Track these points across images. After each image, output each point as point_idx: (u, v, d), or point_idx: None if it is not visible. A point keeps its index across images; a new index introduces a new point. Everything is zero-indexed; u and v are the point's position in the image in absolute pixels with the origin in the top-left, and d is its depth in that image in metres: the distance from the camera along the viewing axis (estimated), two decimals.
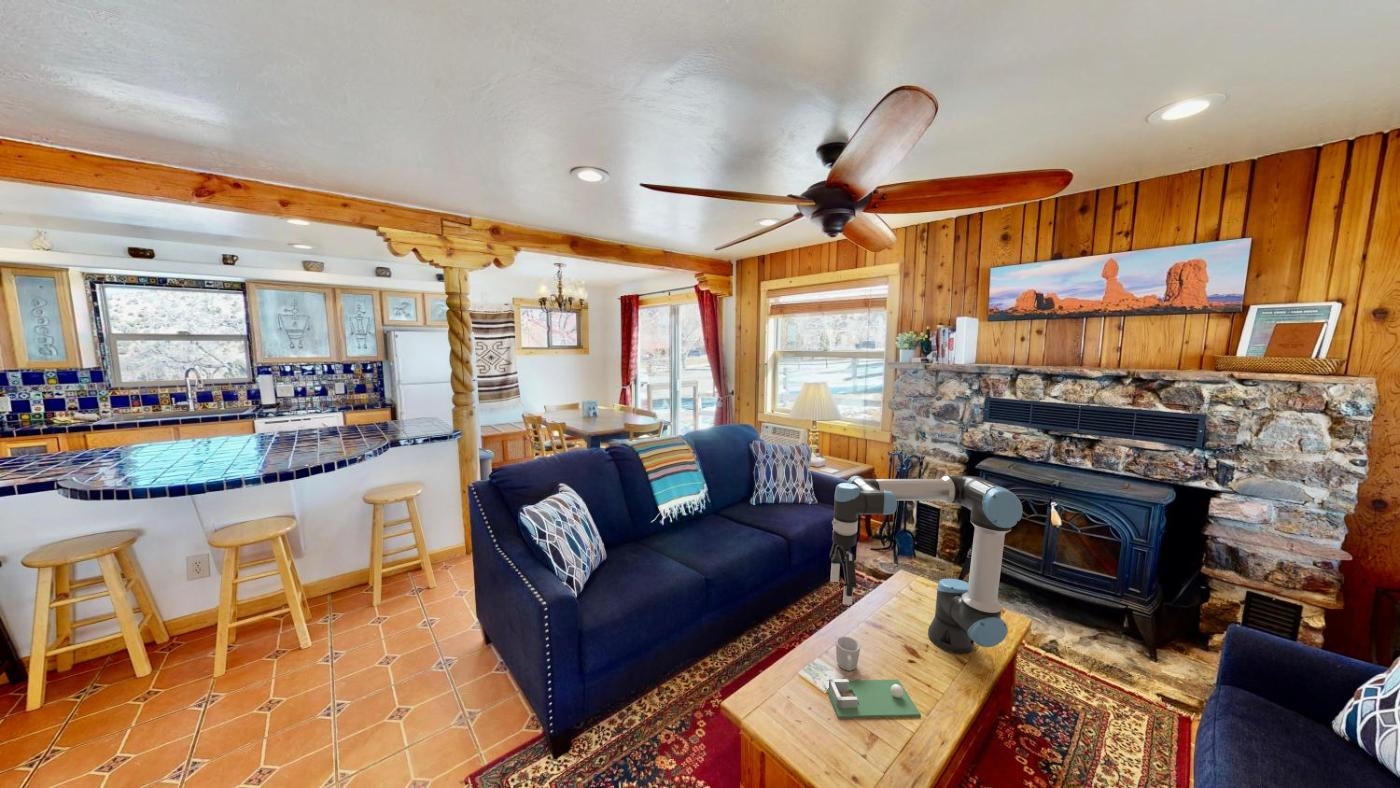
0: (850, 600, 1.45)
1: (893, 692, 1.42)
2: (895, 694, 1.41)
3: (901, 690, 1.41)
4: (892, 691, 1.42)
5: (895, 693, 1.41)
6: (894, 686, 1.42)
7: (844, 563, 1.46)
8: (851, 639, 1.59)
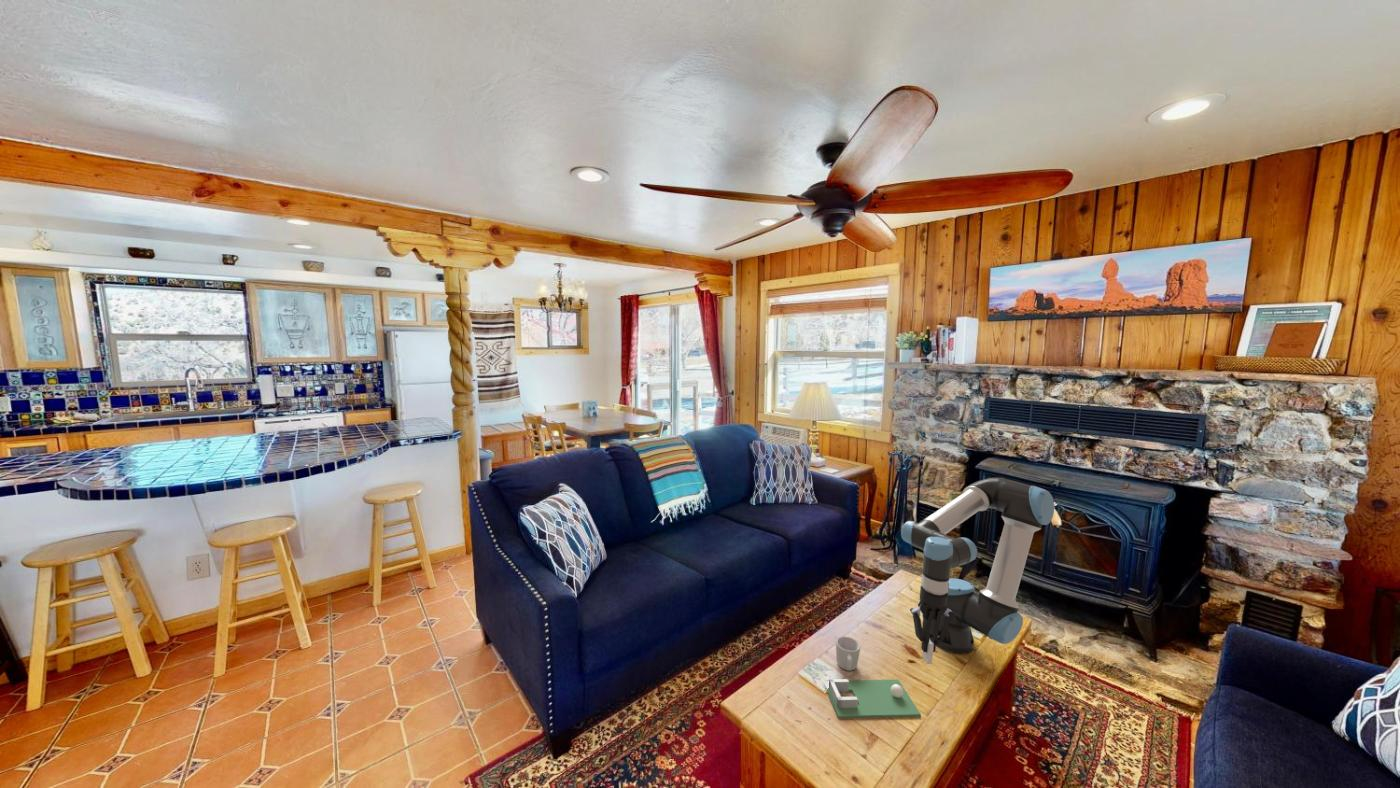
0: (926, 658, 1.41)
1: (893, 692, 1.42)
2: (895, 694, 1.41)
3: (901, 690, 1.41)
4: (892, 691, 1.42)
5: (895, 693, 1.41)
6: (894, 686, 1.42)
7: (923, 618, 1.41)
8: (851, 639, 1.59)
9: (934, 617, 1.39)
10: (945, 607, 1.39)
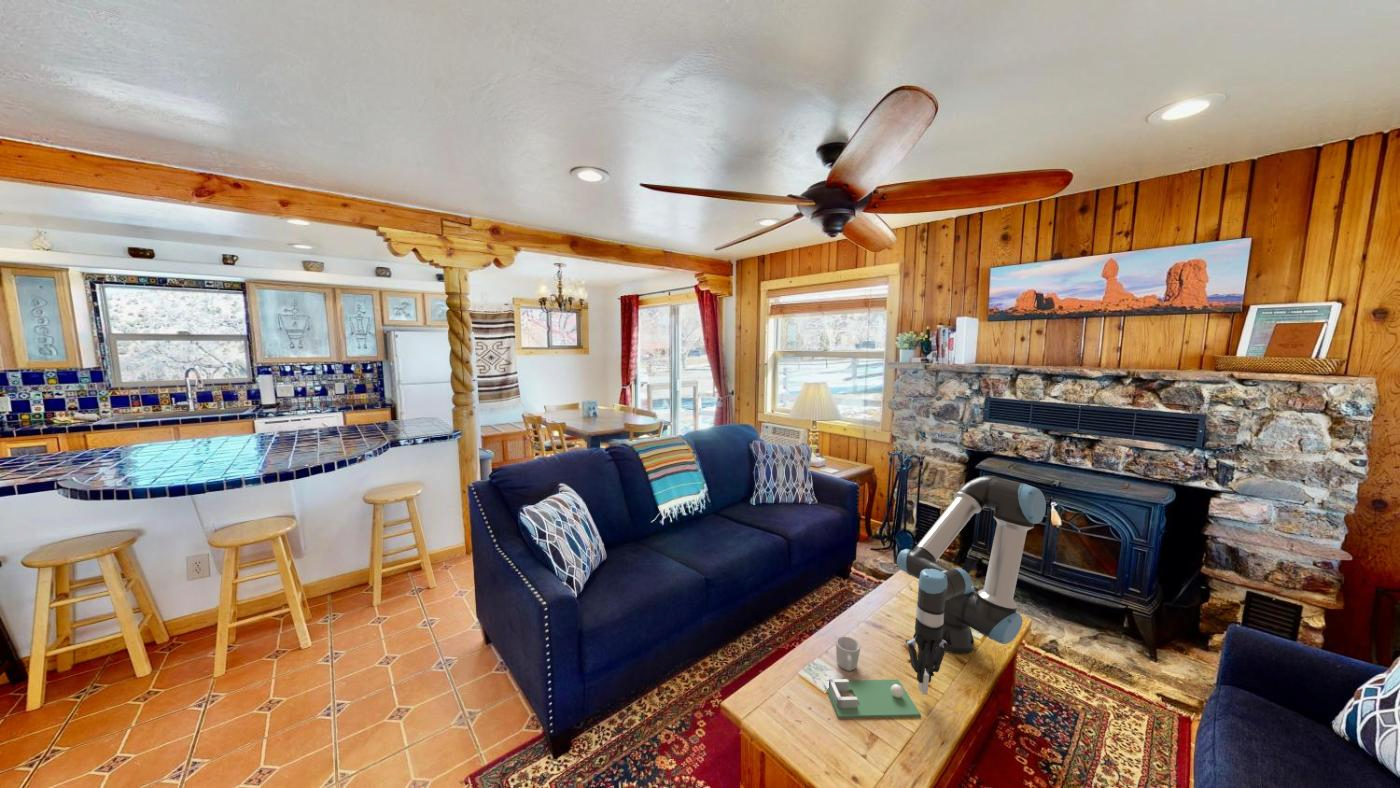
0: (922, 688, 1.42)
1: (893, 692, 1.42)
2: (895, 694, 1.41)
3: (901, 690, 1.41)
4: (892, 691, 1.42)
5: (895, 693, 1.41)
6: (894, 686, 1.42)
7: (919, 650, 1.42)
8: (851, 639, 1.59)
9: (929, 649, 1.40)
10: (940, 639, 1.40)
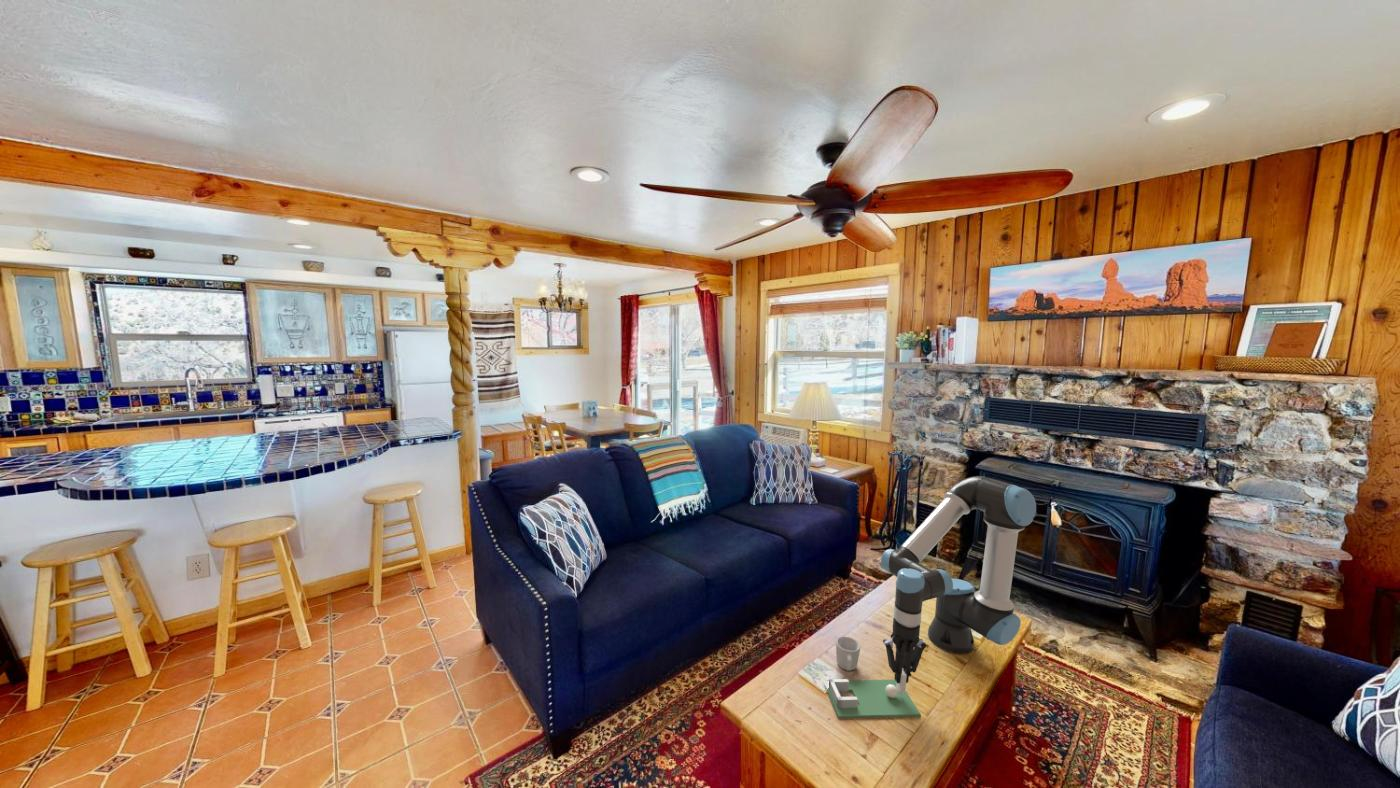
0: (899, 689, 1.42)
1: (889, 696, 1.42)
2: (891, 697, 1.41)
3: (892, 690, 1.41)
4: None
5: (890, 696, 1.41)
6: (886, 690, 1.42)
7: (896, 649, 1.42)
8: (851, 639, 1.59)
9: (907, 648, 1.40)
10: (917, 638, 1.40)
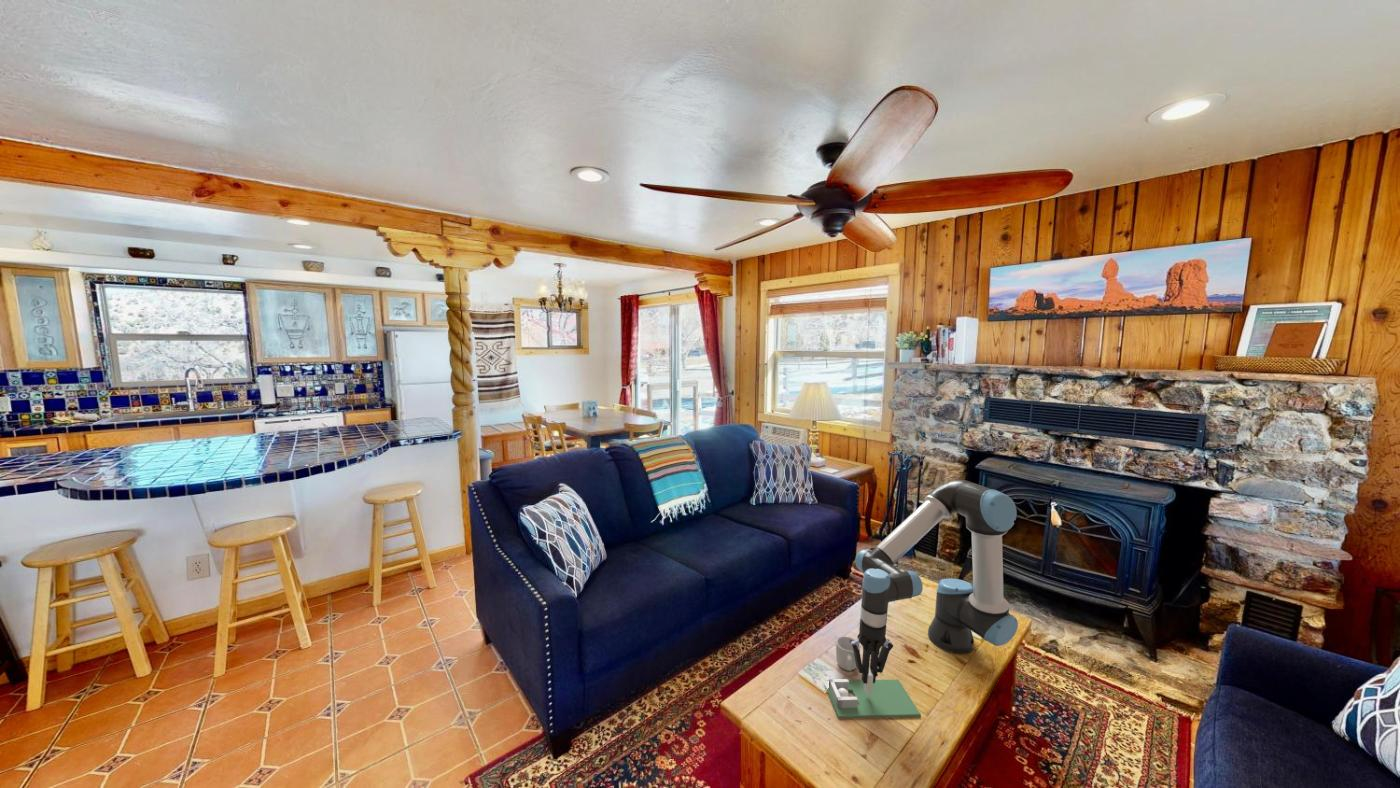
0: (866, 689, 1.41)
1: (848, 696, 1.41)
2: None
3: None
4: (848, 694, 1.41)
5: None
6: None
7: (863, 650, 1.41)
8: (851, 639, 1.59)
9: (873, 649, 1.39)
10: (884, 639, 1.39)
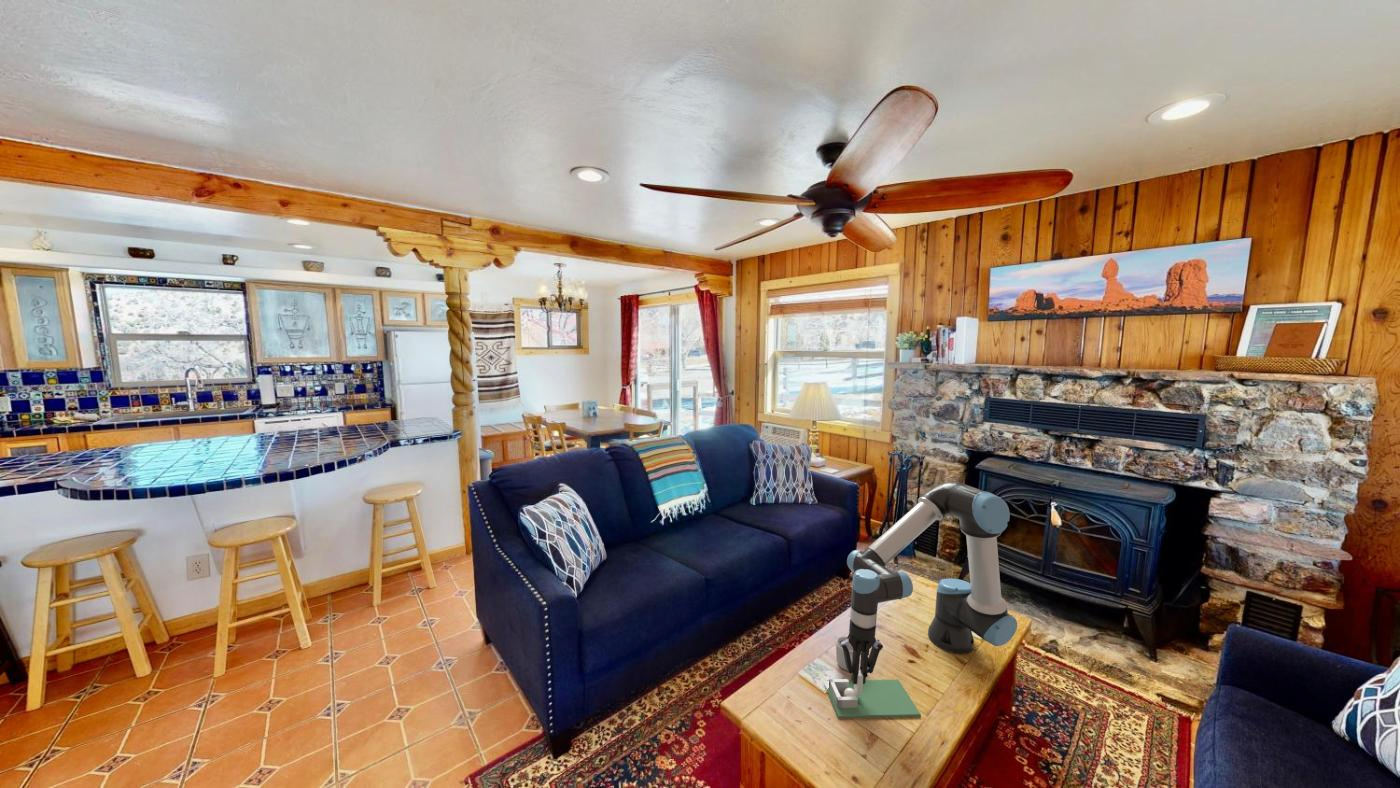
0: (856, 690, 1.41)
1: None
2: None
3: None
4: None
5: None
6: None
7: (853, 650, 1.41)
8: None
9: (863, 649, 1.39)
10: (874, 639, 1.39)
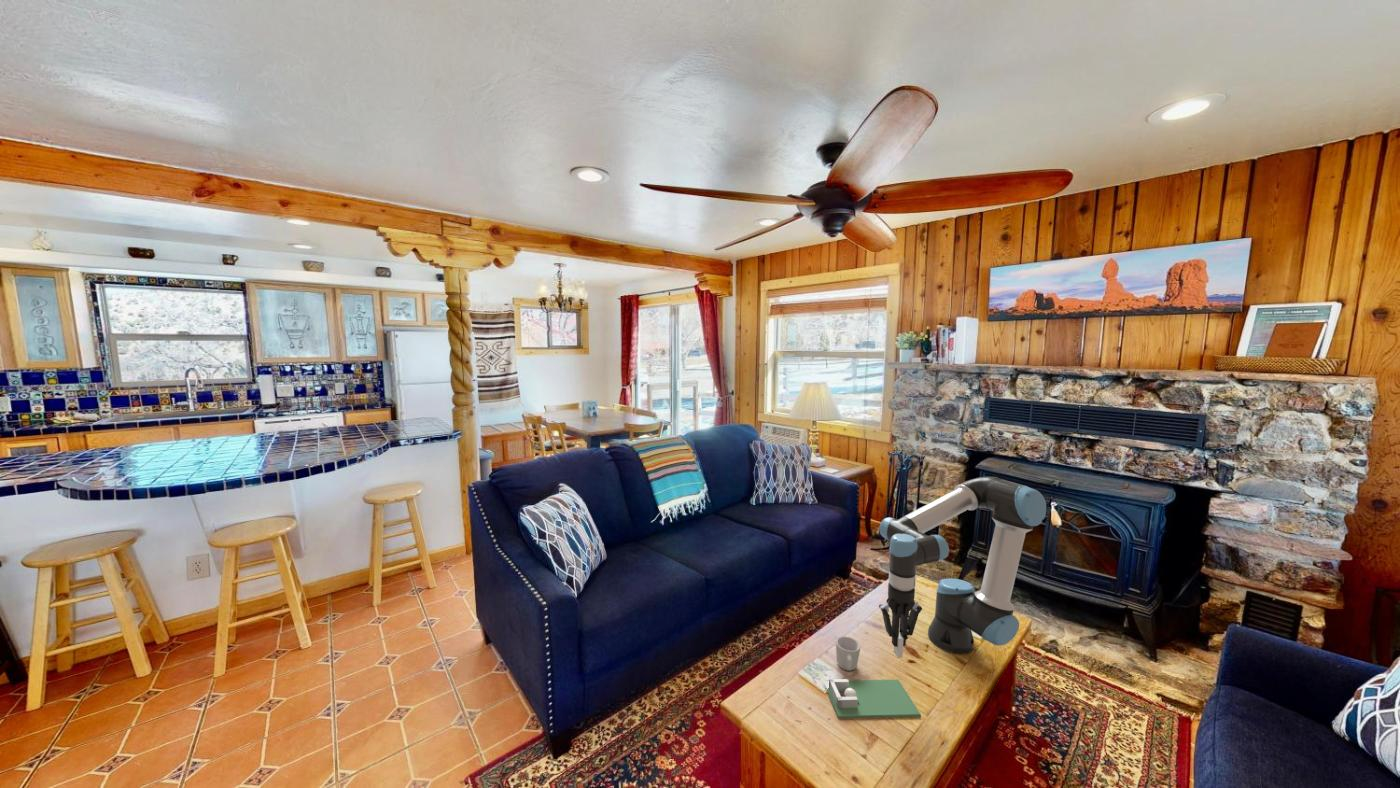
0: (897, 652, 1.43)
1: None
2: None
3: None
4: None
5: None
6: None
7: (892, 614, 1.43)
8: (851, 639, 1.59)
9: (902, 612, 1.41)
10: (913, 602, 1.41)
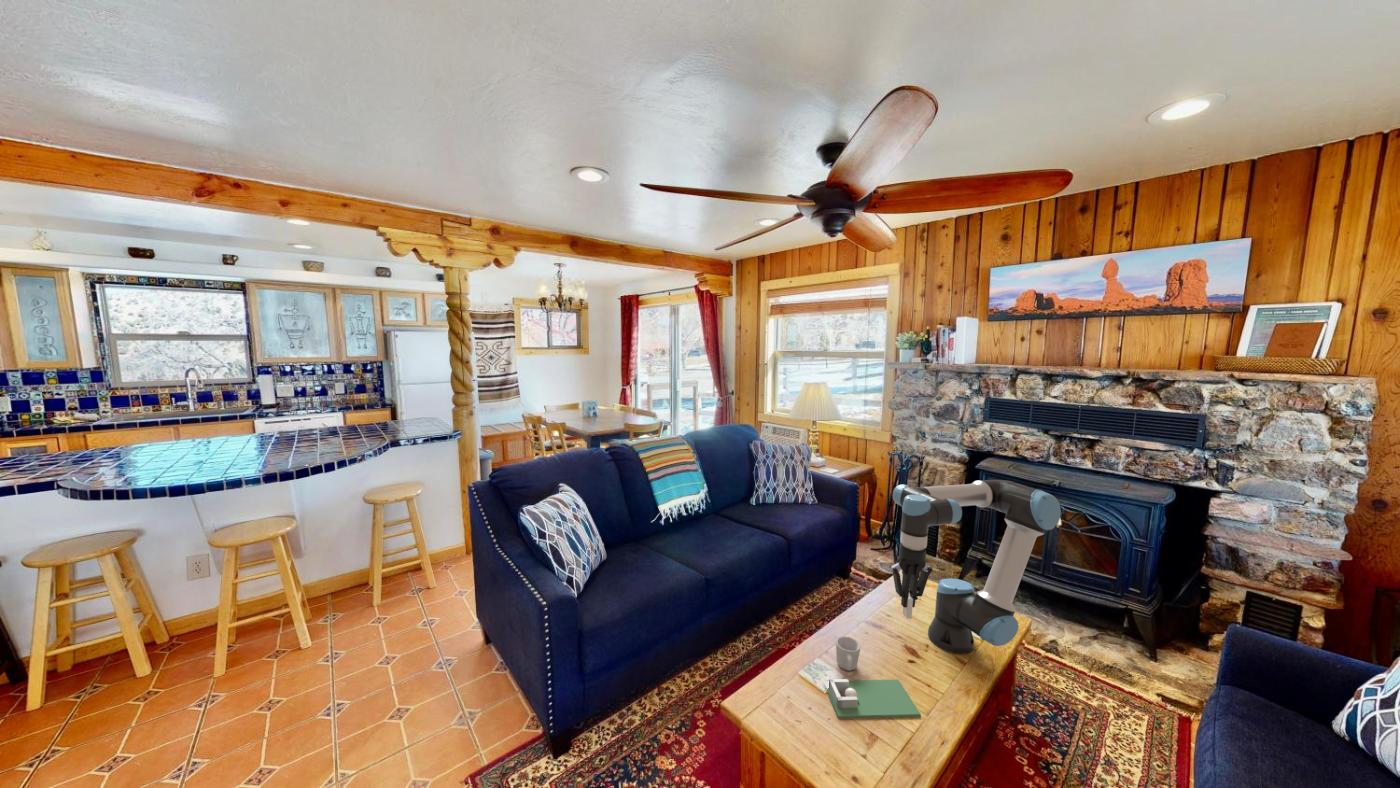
0: (906, 613, 1.44)
1: None
2: None
3: None
4: None
5: None
6: None
7: (903, 575, 1.44)
8: (851, 639, 1.59)
9: (913, 573, 1.42)
10: (924, 563, 1.42)
